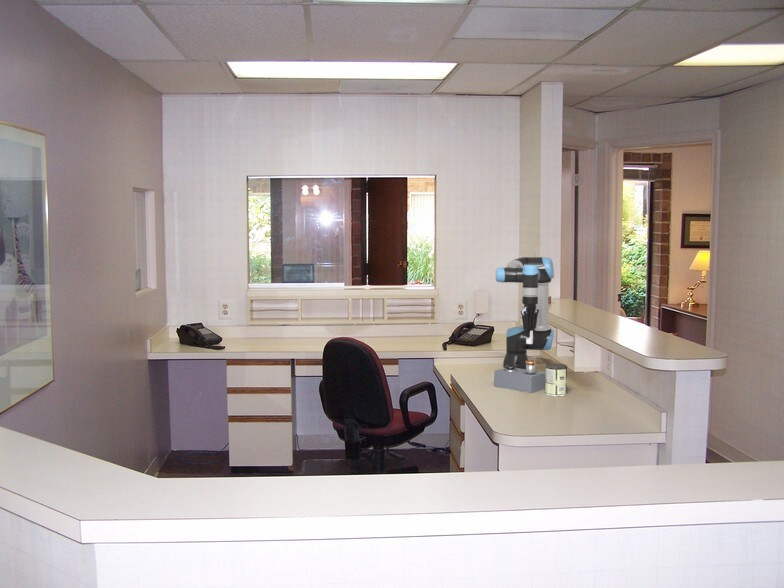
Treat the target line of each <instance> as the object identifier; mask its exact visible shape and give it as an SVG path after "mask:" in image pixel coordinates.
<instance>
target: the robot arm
mask: <svg viewBox="0 0 784 588" xmlns="http://www.w3.org/2000/svg"><path fill="white" fill-rule="evenodd" d="M554 270H555V269H554V262H553V260H552V258H550V257H545V256H538V257H537V256H534V257H533V256H530V257H527V256H523V257H517V258H515V259H513V260H510V261H509V262H508V263H507V265H506V266H505V267H503V266H501V267H498V268H496V269H495V281H496V282H498V283H503V284H504V283H517V284H518V283H519V284H522V300H521V301H522V304H523V310H520V315H521V321H522V325H521V326H512V327H509V328H508V329H506V336H505V337H506V341H505V342H506V348H505V349H506V352H505V355H504V359H503V362H502V367H503V368H505V366H507V365H513V366H516V368H520V369H526V363H525V361H528V360H529V357H528V354H527V353H528V352H527V350H529V351H530V350H534V351H550V350H551V349H552V347H553V341H554V340H553V339H554V336H555V335H554V334H555V330H554V329H552V326H551V325H550V324H549V323H548V320H549V318H548V319H547V313H548V314H549V284H550V283H551V282H552V279H554V278H555V271H554Z"/></svg>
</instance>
